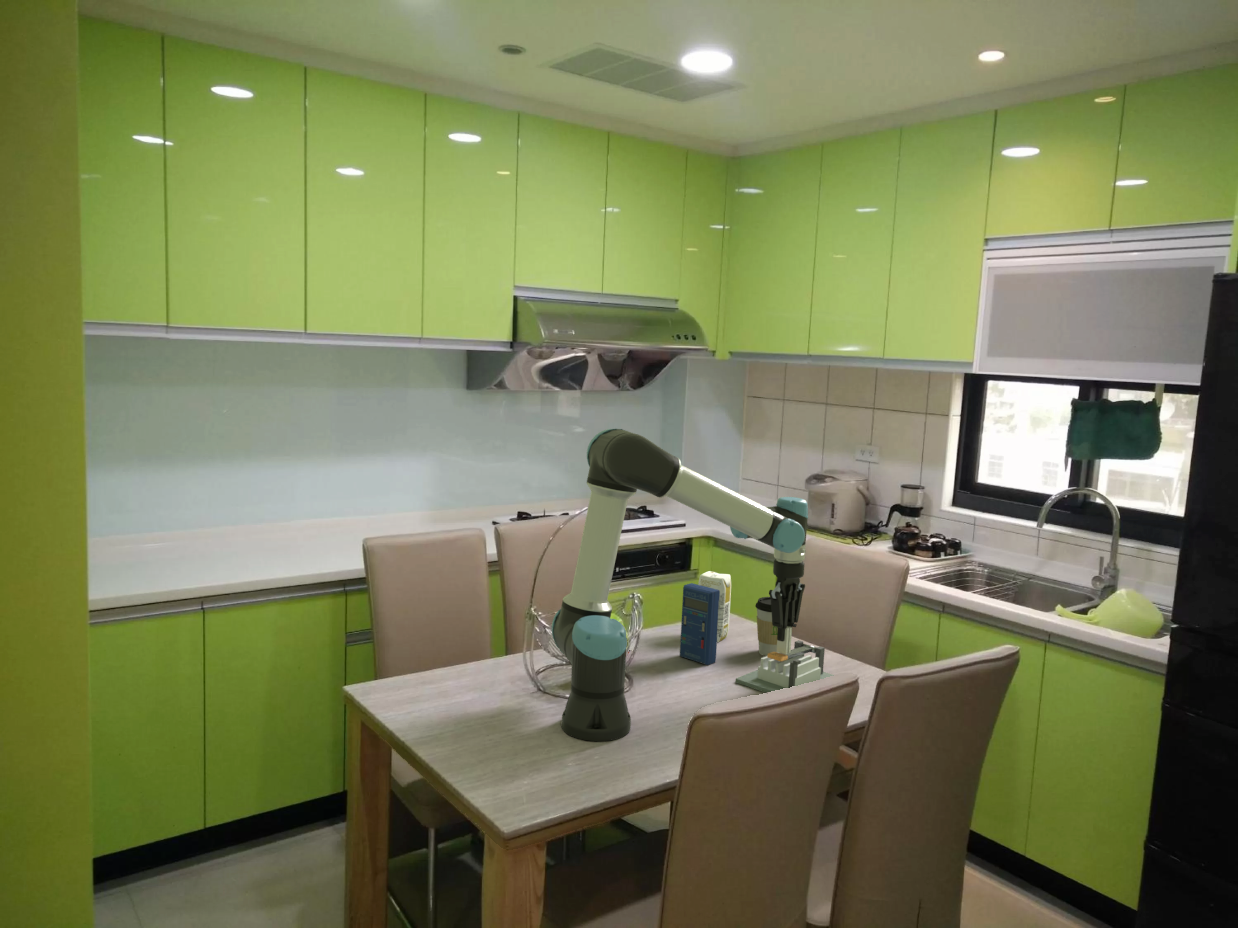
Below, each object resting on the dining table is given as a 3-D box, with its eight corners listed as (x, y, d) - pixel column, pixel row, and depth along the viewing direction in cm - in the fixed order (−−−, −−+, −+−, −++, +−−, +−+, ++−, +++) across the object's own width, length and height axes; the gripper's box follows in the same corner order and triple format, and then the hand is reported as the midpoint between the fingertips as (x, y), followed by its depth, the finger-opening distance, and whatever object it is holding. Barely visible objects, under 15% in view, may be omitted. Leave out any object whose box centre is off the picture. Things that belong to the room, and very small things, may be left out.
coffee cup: (790, 659, 246) (794, 606, 244) (755, 658, 246) (758, 605, 244) (784, 648, 255) (788, 596, 254) (750, 646, 256) (753, 595, 254)
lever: (780, 663, 221) (781, 657, 221) (767, 659, 224) (767, 653, 223) (817, 652, 233) (817, 646, 233) (804, 648, 236) (804, 642, 236)
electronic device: (677, 657, 244) (681, 585, 242) (689, 652, 248) (693, 582, 245) (706, 666, 238) (710, 592, 235) (717, 661, 242) (721, 589, 239)
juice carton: (719, 643, 257) (723, 579, 254) (692, 638, 261) (696, 574, 259) (730, 637, 263) (734, 574, 261) (703, 631, 267) (707, 569, 265)
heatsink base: (796, 703, 215) (798, 668, 214) (735, 682, 227) (737, 648, 226) (843, 681, 231) (845, 648, 230) (783, 662, 243) (785, 631, 242)
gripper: (786, 566, 214) (780, 662, 217) (817, 558, 224) (811, 650, 227) (760, 561, 219) (755, 654, 222) (791, 553, 229) (785, 642, 232)
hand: (783, 651), depth 225 cm, fingers closed
